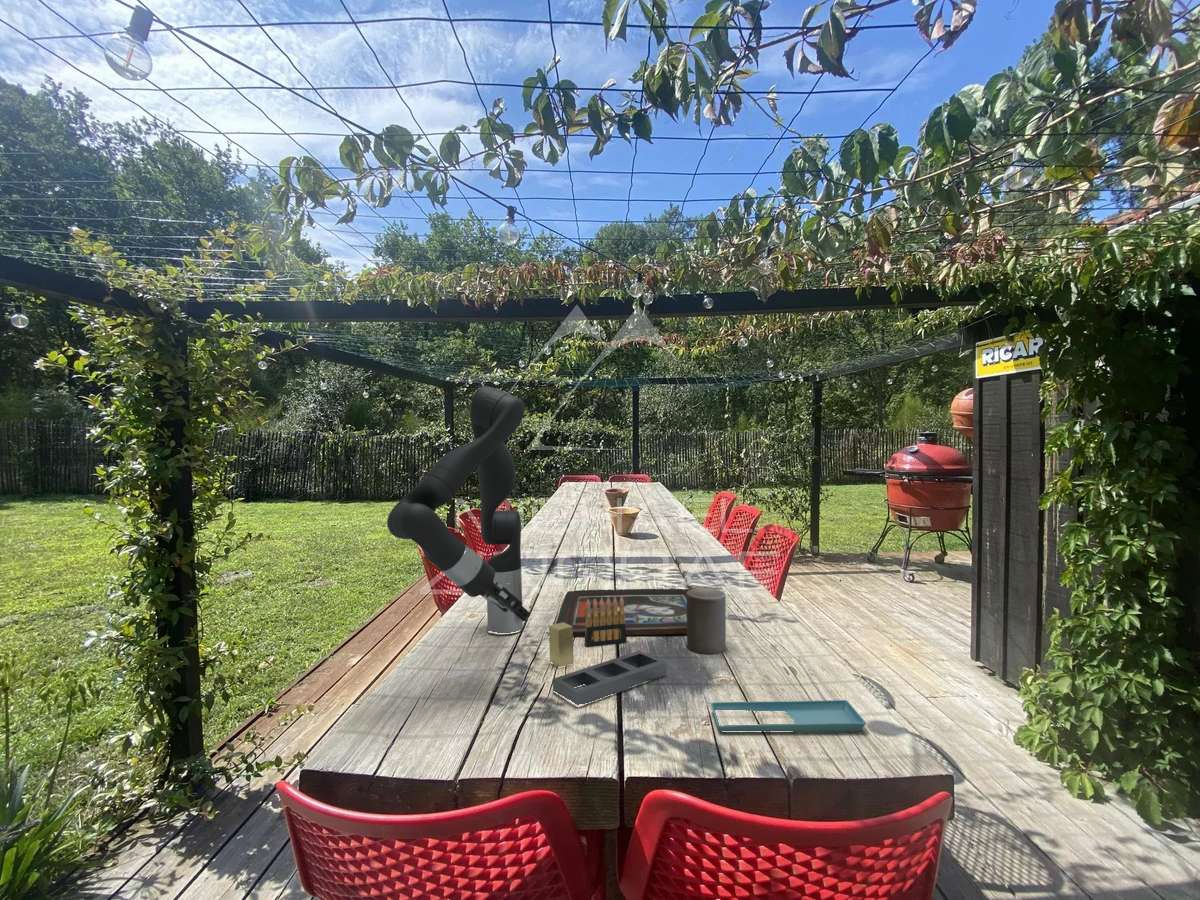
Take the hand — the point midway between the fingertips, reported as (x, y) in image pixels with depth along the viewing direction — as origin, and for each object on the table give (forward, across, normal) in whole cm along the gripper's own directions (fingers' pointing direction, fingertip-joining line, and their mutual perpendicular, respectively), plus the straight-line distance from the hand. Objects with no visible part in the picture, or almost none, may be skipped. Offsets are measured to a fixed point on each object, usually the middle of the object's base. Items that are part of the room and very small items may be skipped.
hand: (517, 612), depth 130 cm
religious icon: (+46, +18, -24) cm, 54 cm away
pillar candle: (+42, -15, -21) cm, 50 cm away
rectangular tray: (+31, -50, -9) cm, 59 cm away
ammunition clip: (+30, +4, -9) cm, 31 cm away
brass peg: (+18, 0, +2) cm, 18 cm away
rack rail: (+20, -16, +1) cm, 26 cm away
